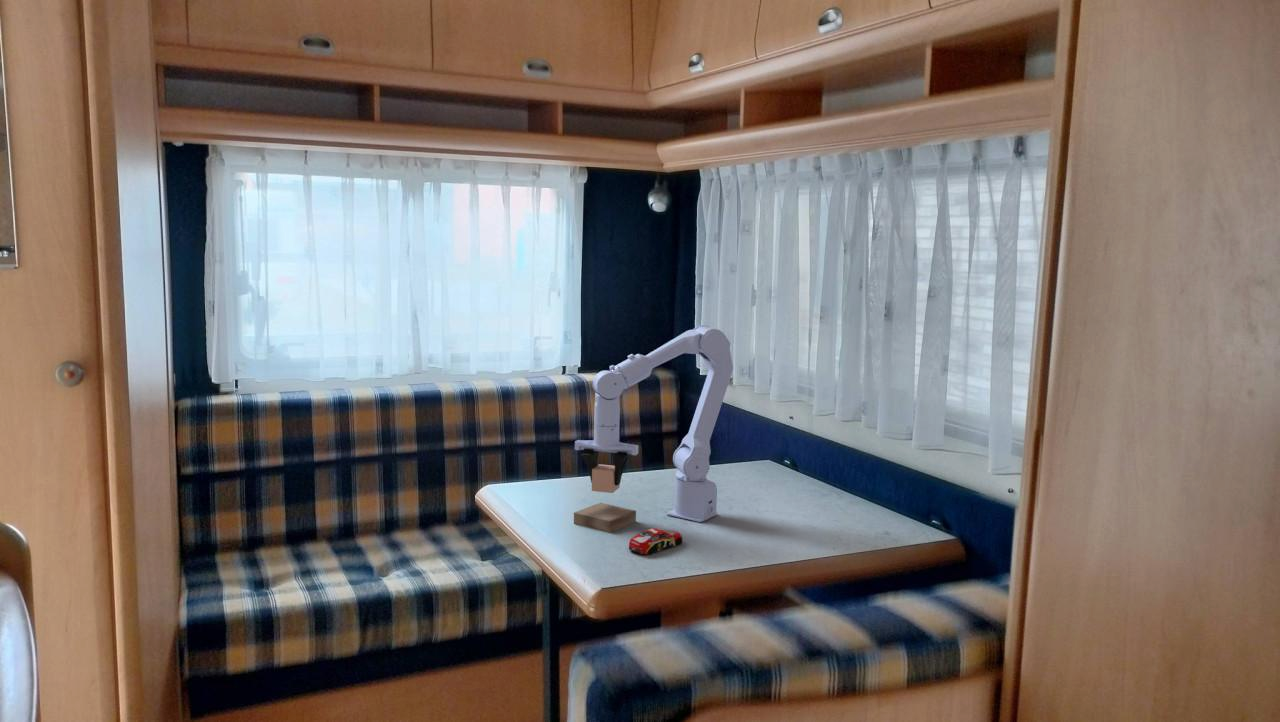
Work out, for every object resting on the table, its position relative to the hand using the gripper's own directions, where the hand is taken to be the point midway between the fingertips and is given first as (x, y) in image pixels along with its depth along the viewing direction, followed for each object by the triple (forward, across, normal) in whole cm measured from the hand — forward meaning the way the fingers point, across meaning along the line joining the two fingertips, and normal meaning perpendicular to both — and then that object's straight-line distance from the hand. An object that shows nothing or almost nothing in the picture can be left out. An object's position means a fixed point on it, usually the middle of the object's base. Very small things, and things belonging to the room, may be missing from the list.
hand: (605, 483), depth 210 cm
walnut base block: (+9, -1, +2) cm, 9 cm away
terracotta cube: (+2, 0, 0) cm, 2 cm away
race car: (+9, -16, +14) cm, 23 cm away
